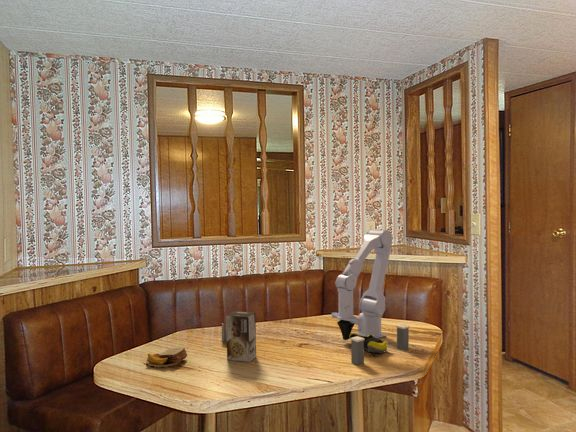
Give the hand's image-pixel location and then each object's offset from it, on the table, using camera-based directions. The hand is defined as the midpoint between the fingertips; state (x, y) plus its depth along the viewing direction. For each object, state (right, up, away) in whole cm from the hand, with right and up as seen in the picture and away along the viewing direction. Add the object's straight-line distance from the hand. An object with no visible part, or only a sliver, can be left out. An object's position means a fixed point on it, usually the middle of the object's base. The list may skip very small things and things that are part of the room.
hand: (346, 339), depth 171 cm
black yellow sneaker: (+8, -2, -8) cm, 11 cm away
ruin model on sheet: (-44, -3, +6) cm, 45 cm away
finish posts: (+11, -2, -14) cm, 18 cm away
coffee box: (-40, -3, -15) cm, 42 cm away
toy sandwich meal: (-66, -3, -18) cm, 68 cm away
